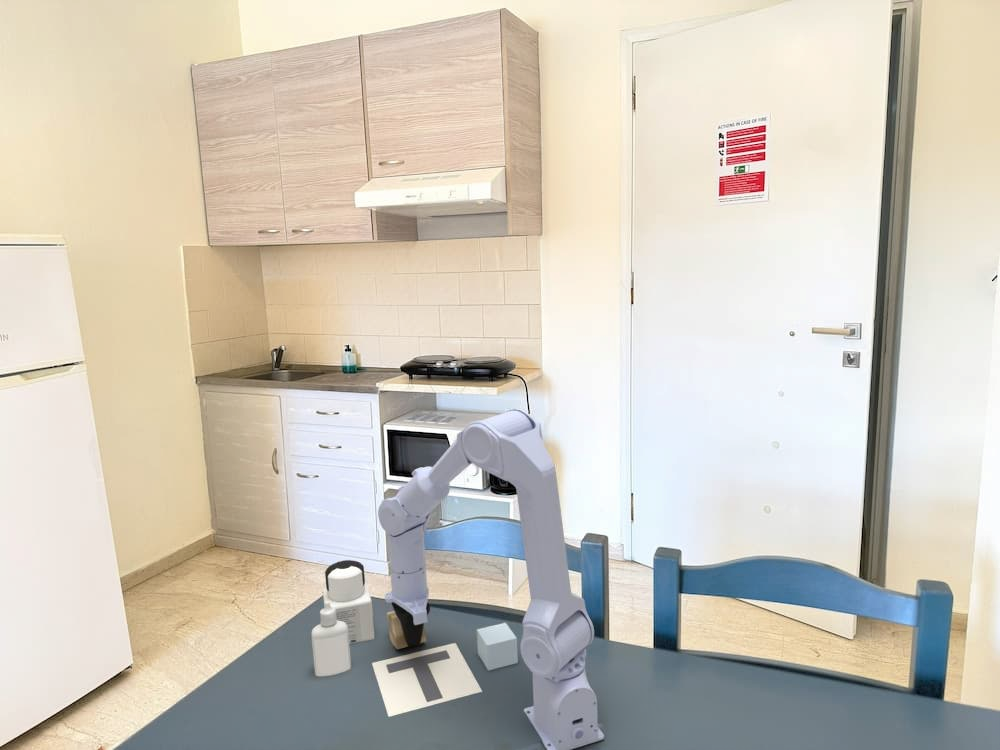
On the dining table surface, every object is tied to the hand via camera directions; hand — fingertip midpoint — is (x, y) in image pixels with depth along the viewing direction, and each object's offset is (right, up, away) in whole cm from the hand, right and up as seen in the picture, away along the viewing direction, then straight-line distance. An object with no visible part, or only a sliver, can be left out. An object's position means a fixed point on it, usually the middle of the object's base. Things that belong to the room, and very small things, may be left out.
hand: (413, 643), depth 110 cm
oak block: (-1, -1, +3) cm, 3 cm away
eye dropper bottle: (-12, -3, -4) cm, 13 cm away
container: (-12, -2, +7) cm, 14 cm away
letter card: (+3, -3, -7) cm, 8 cm away
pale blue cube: (+14, -2, -3) cm, 14 cm away
